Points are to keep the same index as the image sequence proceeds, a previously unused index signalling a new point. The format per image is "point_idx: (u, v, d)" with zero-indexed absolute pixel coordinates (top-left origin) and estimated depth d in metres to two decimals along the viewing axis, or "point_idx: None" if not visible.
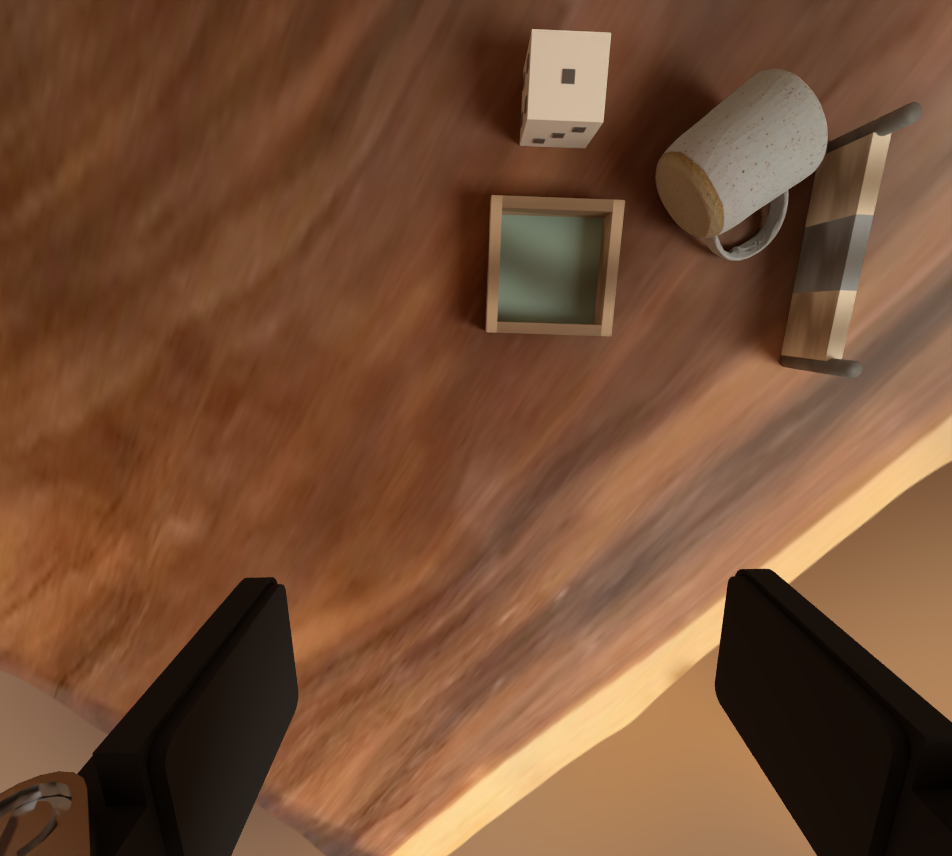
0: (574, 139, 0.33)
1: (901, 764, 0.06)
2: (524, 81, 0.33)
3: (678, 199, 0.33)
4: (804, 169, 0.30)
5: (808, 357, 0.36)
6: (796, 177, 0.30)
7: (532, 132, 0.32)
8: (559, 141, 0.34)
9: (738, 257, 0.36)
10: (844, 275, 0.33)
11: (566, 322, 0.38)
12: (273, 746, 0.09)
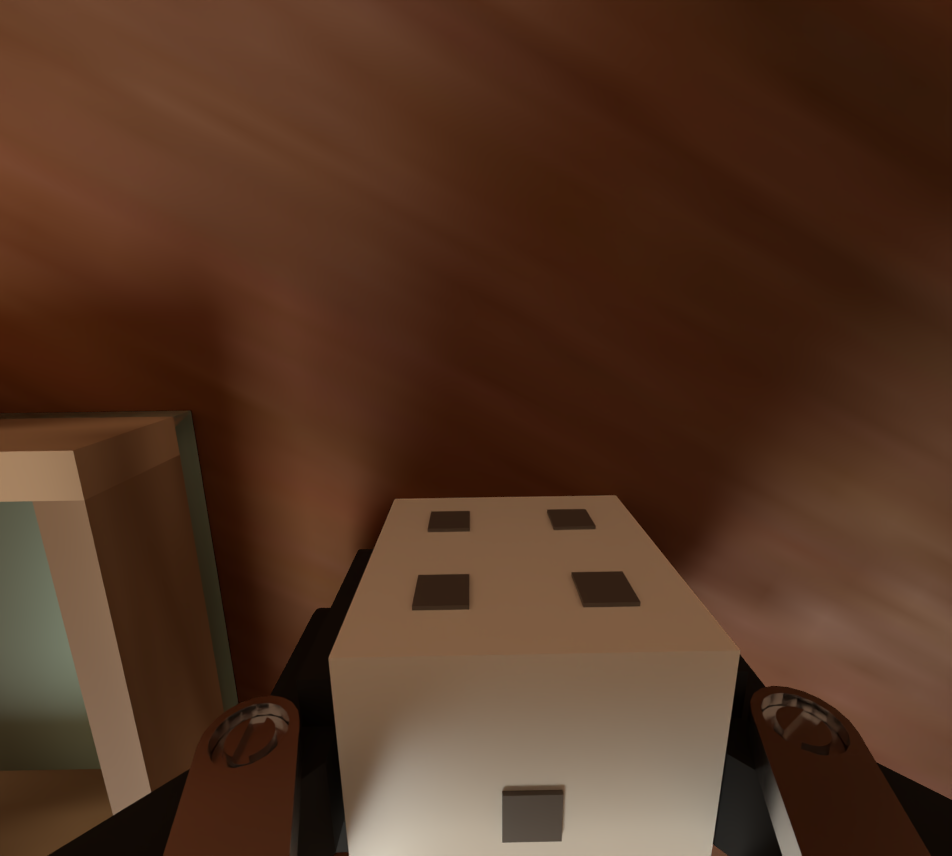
0: None
1: None
2: (566, 528, 0.09)
3: None
4: None
5: None
6: None
7: None
8: None
9: None
10: None
11: None
12: None
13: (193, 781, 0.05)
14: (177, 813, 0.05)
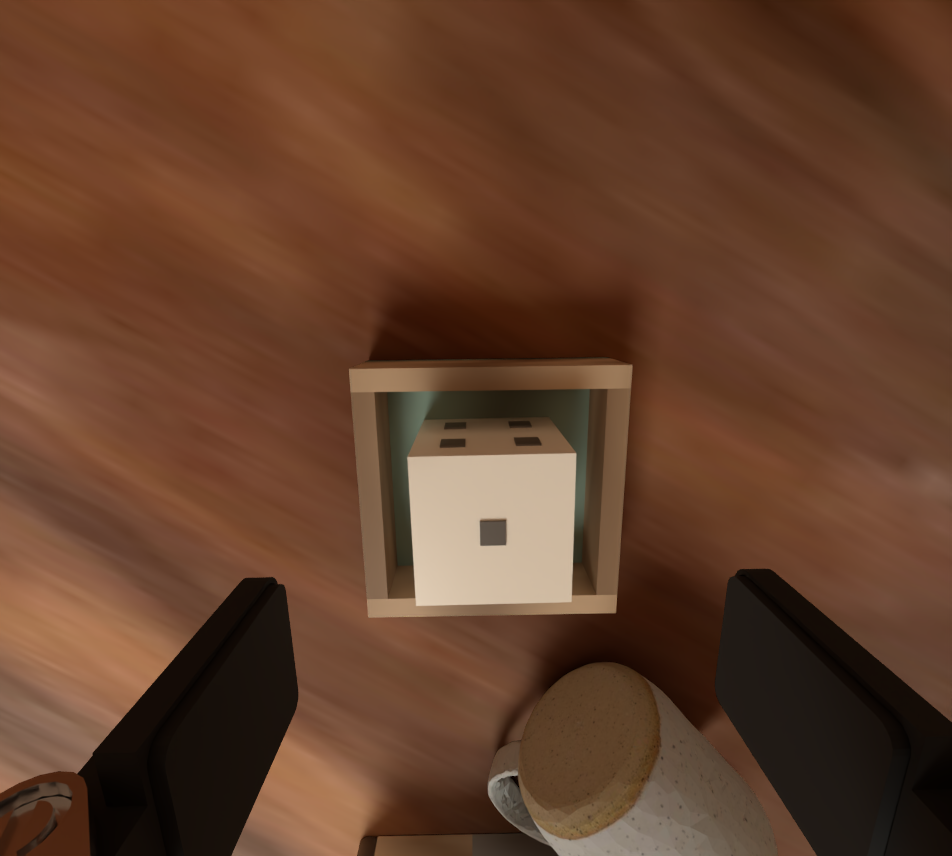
0: None
1: (901, 764, 0.06)
2: (516, 427, 0.17)
3: (580, 719, 0.19)
4: None
5: None
6: None
7: None
8: None
9: (492, 792, 0.22)
10: None
11: (396, 518, 0.19)
12: (273, 746, 0.09)
13: None
14: None
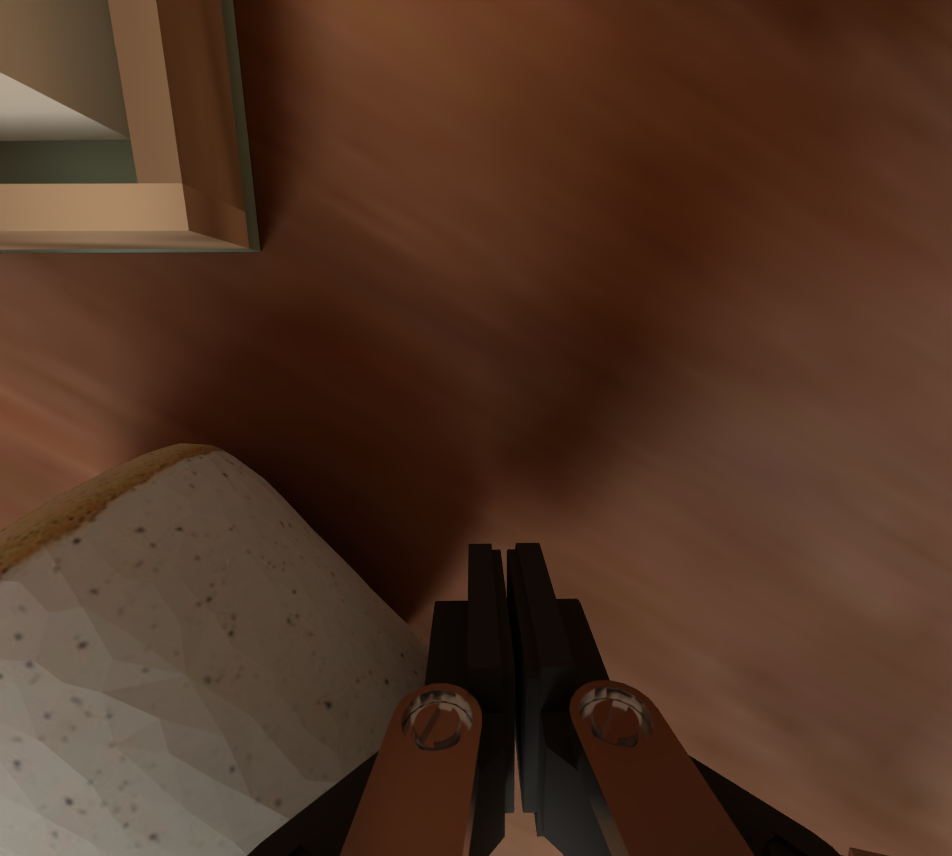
0: None
1: (534, 692, 0.07)
2: None
3: None
4: None
5: None
6: None
7: None
8: None
9: None
10: None
11: None
12: None
13: (386, 747, 0.06)
14: (371, 773, 0.05)
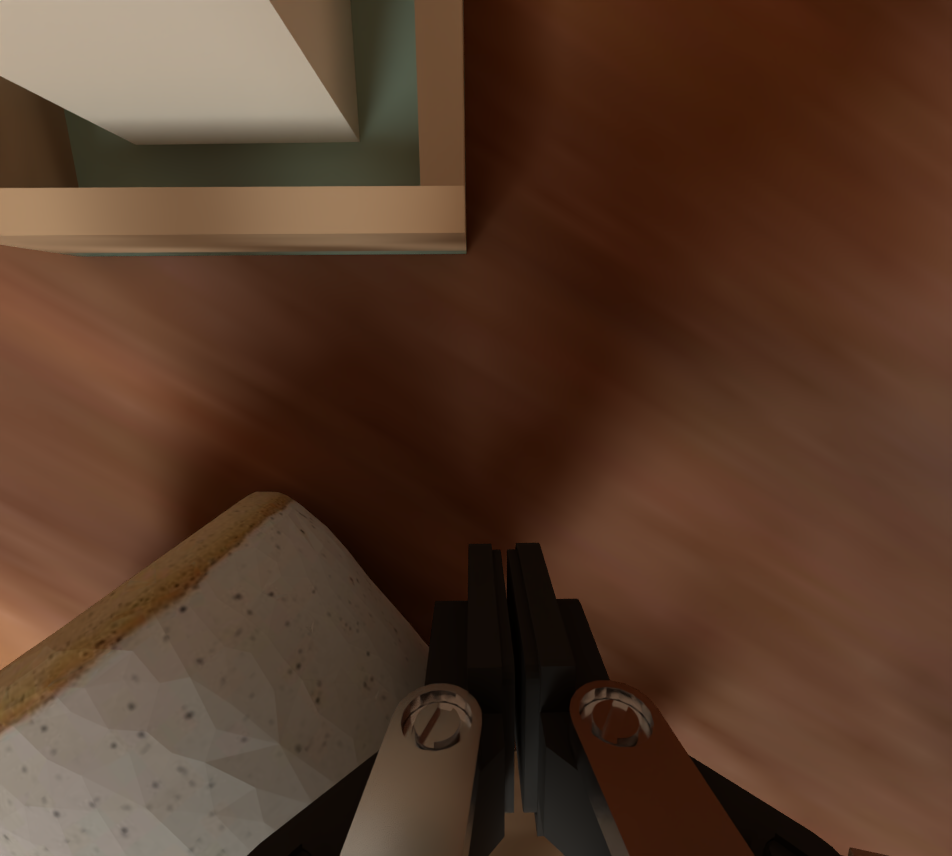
0: None
1: (535, 692, 0.07)
2: None
3: None
4: None
5: None
6: None
7: None
8: None
9: None
10: None
11: None
12: None
13: (386, 747, 0.06)
14: (371, 773, 0.05)
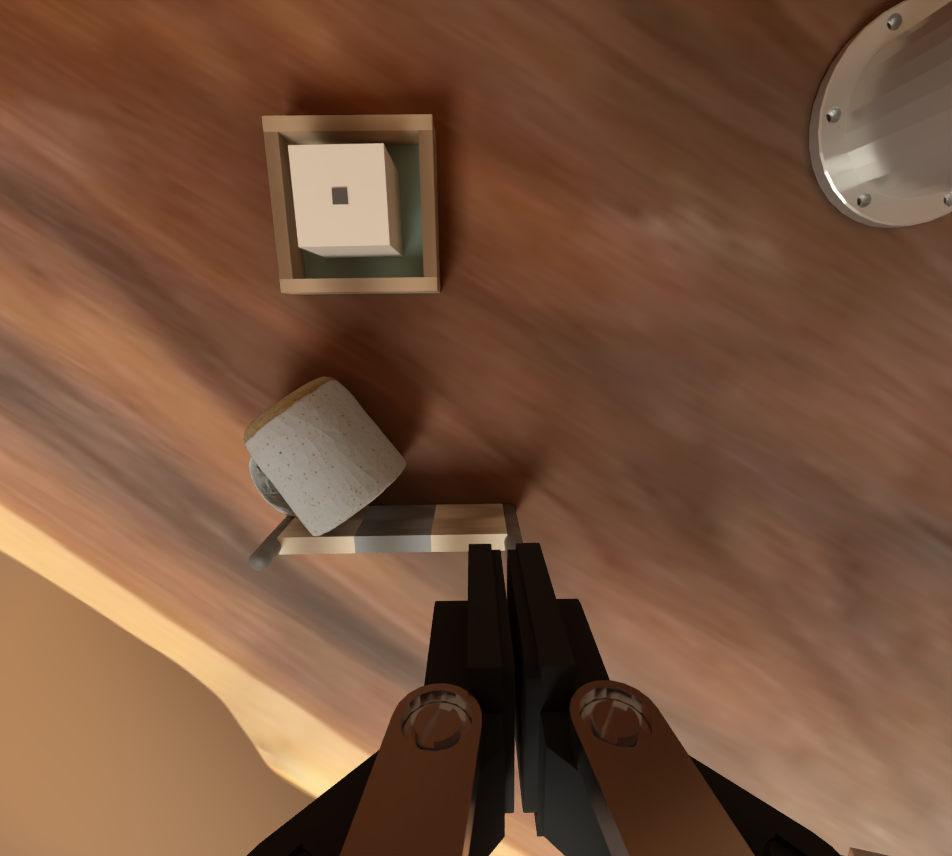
0: None
1: (535, 691, 0.07)
2: None
3: None
4: (299, 518, 0.29)
5: (289, 525, 0.32)
6: (294, 512, 0.29)
7: None
8: None
9: (253, 475, 0.33)
10: (369, 537, 0.30)
11: None
12: None
13: (386, 748, 0.06)
14: (370, 773, 0.05)
